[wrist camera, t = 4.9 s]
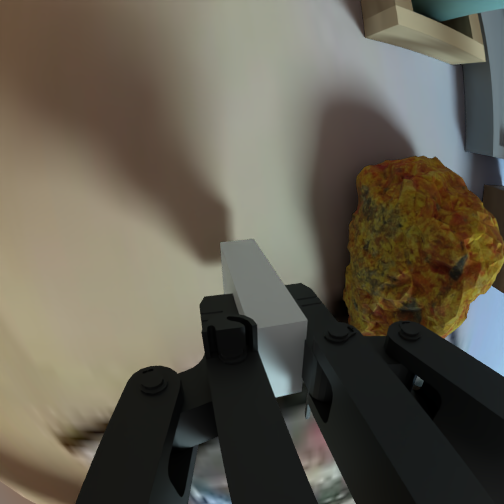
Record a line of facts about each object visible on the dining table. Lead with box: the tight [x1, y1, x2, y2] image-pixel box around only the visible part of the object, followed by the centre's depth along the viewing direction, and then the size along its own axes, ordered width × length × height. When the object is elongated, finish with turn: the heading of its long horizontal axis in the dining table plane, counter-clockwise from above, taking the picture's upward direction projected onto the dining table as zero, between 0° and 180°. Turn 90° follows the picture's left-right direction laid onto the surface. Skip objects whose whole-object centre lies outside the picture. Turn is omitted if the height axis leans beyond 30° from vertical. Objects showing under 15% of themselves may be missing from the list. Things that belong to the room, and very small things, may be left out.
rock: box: [343, 156, 504, 338], centre depth 15 cm, size 11×8×10 cm
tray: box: [462, 9, 504, 159], centre depth 13 cm, size 9×17×2 cm, turn 2°
